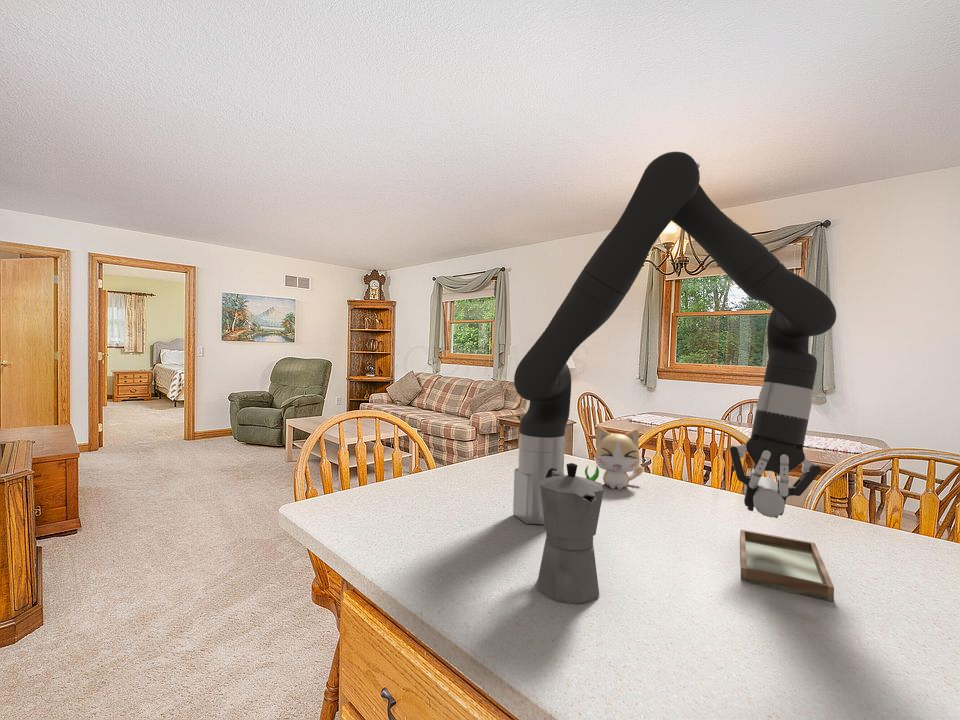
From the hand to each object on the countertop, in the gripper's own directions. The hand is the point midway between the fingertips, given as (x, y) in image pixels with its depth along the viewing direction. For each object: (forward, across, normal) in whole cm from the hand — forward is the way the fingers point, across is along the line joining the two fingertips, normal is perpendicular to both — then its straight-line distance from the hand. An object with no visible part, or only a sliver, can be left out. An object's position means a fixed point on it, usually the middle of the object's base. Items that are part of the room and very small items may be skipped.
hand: (762, 512), depth 79 cm
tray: (+8, +4, -1) cm, 9 cm away
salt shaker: (-3, 0, +7) cm, 8 cm away
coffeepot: (+14, -25, -24) cm, 37 cm away
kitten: (+10, -28, +34) cm, 45 cm away
